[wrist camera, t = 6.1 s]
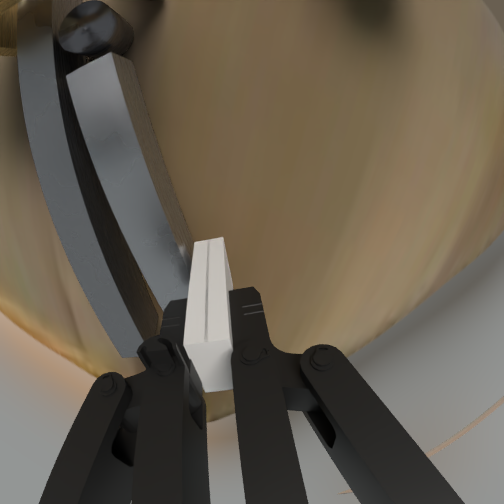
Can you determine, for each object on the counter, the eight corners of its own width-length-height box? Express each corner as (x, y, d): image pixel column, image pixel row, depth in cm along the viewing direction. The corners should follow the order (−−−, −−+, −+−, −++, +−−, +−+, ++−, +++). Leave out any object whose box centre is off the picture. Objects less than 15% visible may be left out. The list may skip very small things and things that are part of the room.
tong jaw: (94, 78, 10) (65, 76, 7) (132, 61, 10) (110, 52, 7) (192, 321, 17) (191, 358, 15) (223, 314, 17) (225, 350, 15)
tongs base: (51, -6, 7) (20, -20, 4) (128, -38, 7) (110, -66, 4) (132, 319, 18) (122, 357, 15) (196, 310, 18) (195, 350, 15)
